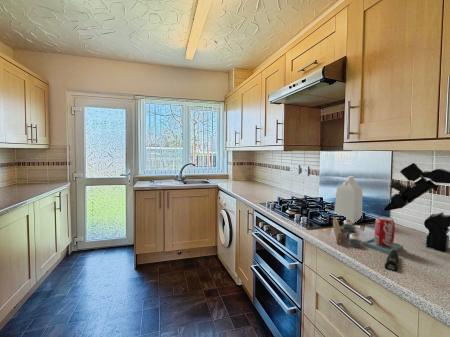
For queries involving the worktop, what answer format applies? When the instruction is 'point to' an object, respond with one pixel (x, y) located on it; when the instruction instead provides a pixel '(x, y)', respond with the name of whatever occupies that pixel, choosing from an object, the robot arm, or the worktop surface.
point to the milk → (349, 200)
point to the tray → (373, 245)
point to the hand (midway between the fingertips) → (387, 208)
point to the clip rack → (346, 229)
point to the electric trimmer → (392, 261)
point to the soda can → (384, 231)
